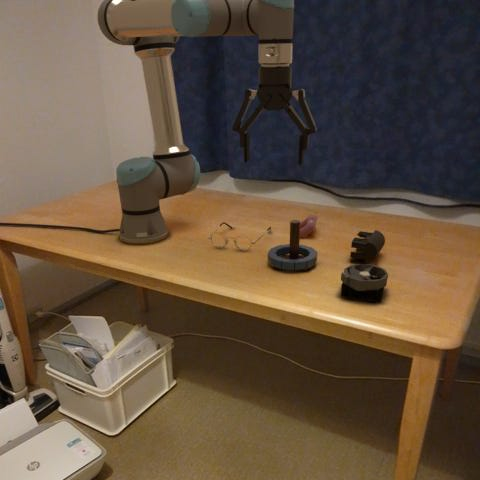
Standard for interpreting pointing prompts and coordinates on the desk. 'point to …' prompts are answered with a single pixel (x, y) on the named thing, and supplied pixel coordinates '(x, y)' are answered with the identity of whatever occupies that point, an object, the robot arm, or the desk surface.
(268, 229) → the eyeglasses
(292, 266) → the dark blue segmented ring
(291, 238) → the stand
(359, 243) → the end cap
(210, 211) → the desk surface
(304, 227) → the video game controller
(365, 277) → the cpu cooler
